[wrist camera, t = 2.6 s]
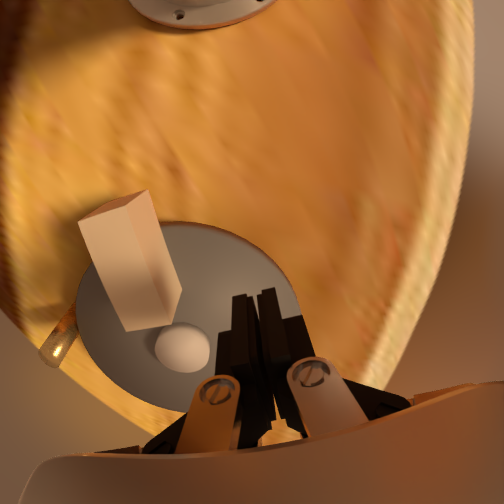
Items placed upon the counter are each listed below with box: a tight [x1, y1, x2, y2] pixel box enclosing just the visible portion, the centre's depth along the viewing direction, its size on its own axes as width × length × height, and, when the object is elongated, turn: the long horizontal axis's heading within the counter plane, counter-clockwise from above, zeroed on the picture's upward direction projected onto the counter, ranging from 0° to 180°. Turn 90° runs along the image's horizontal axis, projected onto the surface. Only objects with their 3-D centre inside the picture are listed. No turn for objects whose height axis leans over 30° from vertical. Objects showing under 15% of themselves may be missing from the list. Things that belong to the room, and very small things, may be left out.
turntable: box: [76, 189, 302, 413], centre depth 20 cm, size 20×18×6 cm
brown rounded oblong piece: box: [39, 301, 79, 368], centre depth 21 cm, size 8×15×7 cm, turn 73°
